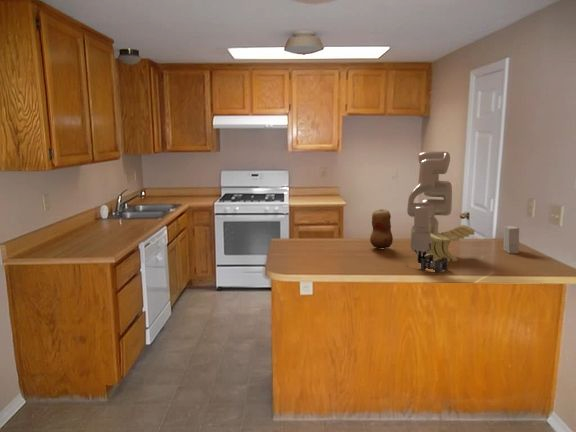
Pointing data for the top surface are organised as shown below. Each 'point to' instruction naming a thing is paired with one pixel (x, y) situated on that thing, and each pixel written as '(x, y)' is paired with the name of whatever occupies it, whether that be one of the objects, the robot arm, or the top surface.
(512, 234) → the skincare box
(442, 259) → the dark angular blocks
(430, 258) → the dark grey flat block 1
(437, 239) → the slatted curved stool
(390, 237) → the butternut squash
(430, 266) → the tube
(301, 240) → the top surface
